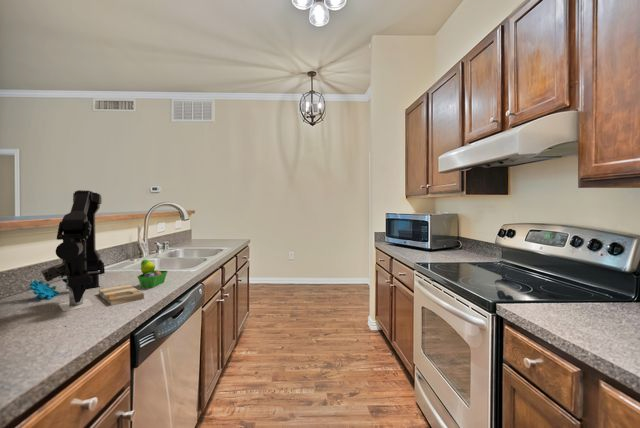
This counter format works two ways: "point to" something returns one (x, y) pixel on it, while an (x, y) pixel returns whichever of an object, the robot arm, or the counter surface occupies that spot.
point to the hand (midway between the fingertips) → (76, 300)
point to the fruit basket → (150, 275)
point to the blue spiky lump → (43, 290)
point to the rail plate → (120, 294)
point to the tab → (66, 306)
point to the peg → (71, 298)
